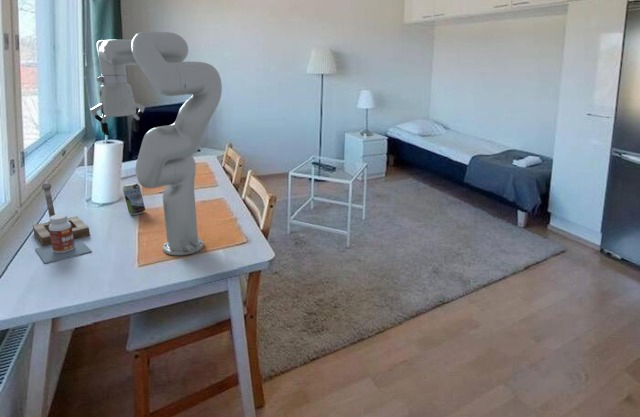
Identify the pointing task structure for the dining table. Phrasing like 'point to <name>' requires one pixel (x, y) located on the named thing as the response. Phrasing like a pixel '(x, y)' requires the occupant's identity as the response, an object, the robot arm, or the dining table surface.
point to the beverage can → (133, 198)
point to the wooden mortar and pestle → (43, 229)
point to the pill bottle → (61, 234)
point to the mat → (51, 256)
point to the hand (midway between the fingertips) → (121, 133)
